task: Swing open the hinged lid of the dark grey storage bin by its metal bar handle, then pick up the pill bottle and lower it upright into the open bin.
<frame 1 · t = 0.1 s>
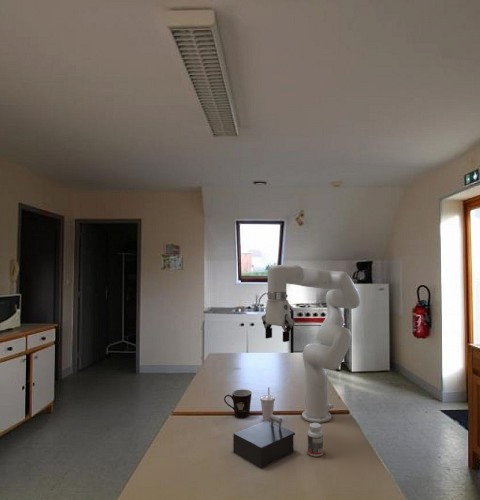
hand: (277, 339, 151), 37 cm above the table, tool pointing down, fingers open, 9 cm apart
smoothie: (267, 421, 162), on the table
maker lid: (264, 428, 135), point 8 cm above the table, hinge at 0.0°
pill bottle: (315, 453, 134), on the table
dark grey storage bin: (263, 452, 135), on the table
coffee mug: (239, 415, 168), on the table
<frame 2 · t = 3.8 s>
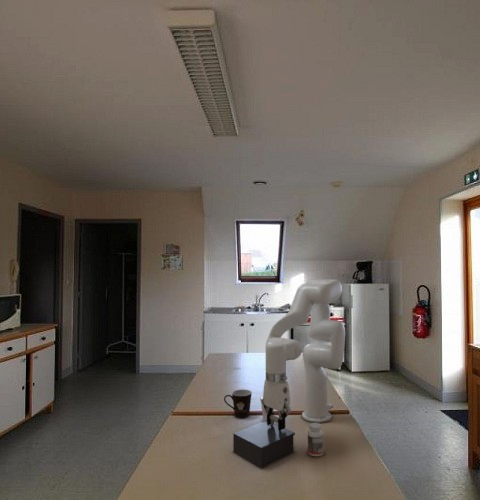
hand: (276, 426, 139), 7 cm above the table, tool pointing down, fingers closed on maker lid, 5 cm apart
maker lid: (264, 428, 135), point 8 cm above the table, hinge at 0.0°, touching gripper
everything else where it was.
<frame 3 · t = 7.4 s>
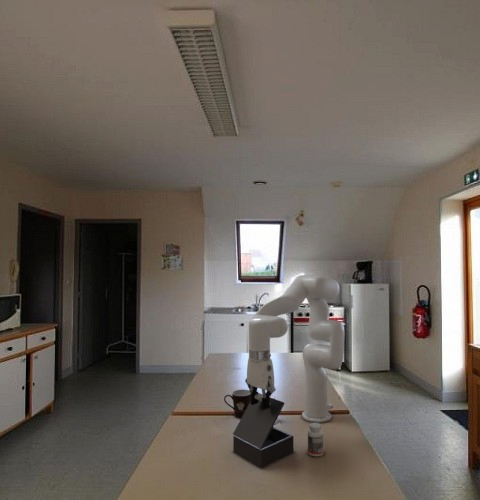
hand: (260, 405, 134), 17 cm above the table, tool pointing down, fingers closed on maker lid, 5 cm apart
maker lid: (255, 415, 133), point 14 cm above the table, hinge at 48.1°, touching gripper
everything else where it was.
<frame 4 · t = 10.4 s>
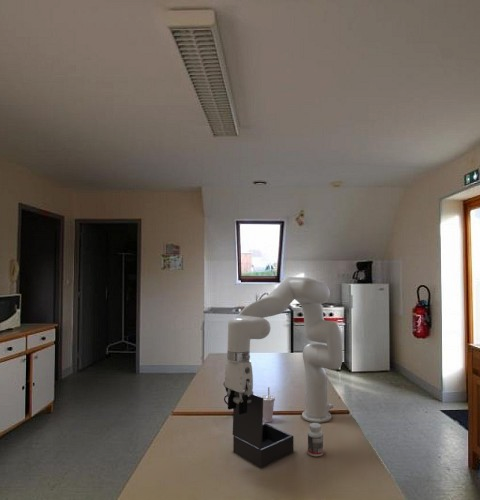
hand: (237, 410, 127), 18 cm above the table, tool pointing down, fingers closed on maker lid, 5 cm apart
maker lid: (242, 418, 129), point 15 cm above the table, hinge at 87.6°, touching gripper
everything else where it was.
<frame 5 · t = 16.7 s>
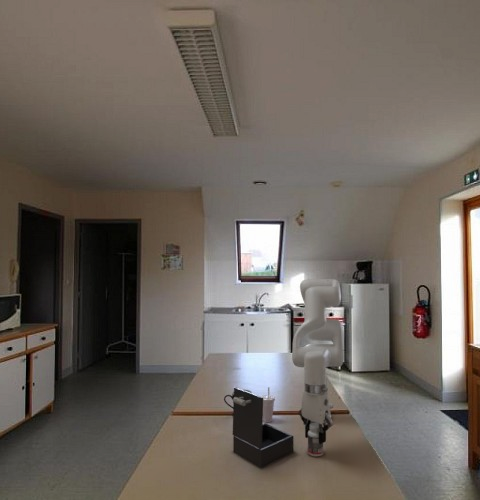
hand: (315, 439, 134), 5 cm above the table, tool pointing down, fingers closed on pill bottle, 5 cm apart
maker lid: (242, 418, 129), point 15 cm above the table, hinge at 87.7°
pill bottle: (315, 453, 134), on the table, touching gripper
everything else where it was.
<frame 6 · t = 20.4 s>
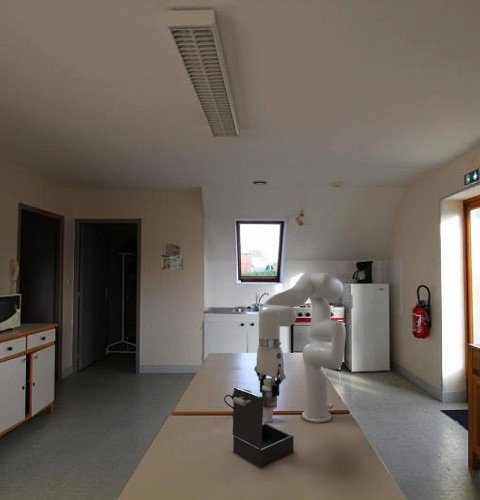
hand: (269, 393, 136), 21 cm above the table, tool pointing down, fingers closed on pill bottle, 5 cm apart
pill bottle: (269, 408, 135), point 16 cm above the table, touching gripper
everything else where it was.
when the fingers open (6 cm above the table, at t = 24.1 s): pill bottle stays where it is, resting on dark grey storage bin.
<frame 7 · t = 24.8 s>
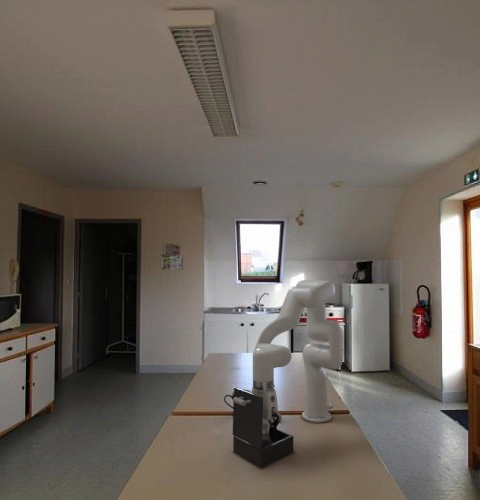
hand: (263, 433, 135), 7 cm above the table, tool pointing down, fingers open, 9 cm apart
pill bottle: (263, 450, 135), point 1 cm above the table, touching dark grey storage bin
everything else where it was.
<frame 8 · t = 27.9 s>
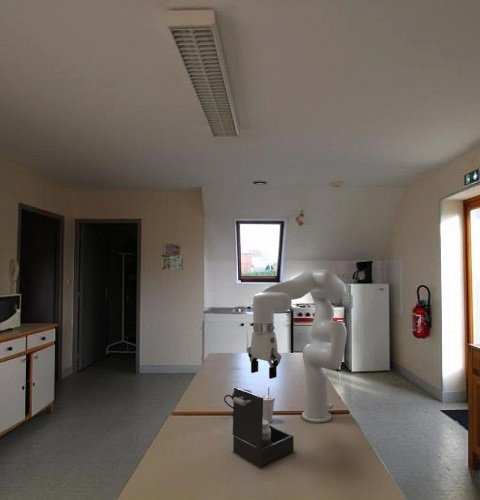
hand: (263, 375, 139), 26 cm above the table, tool pointing down, fingers open, 9 cm apart
nothing on the table moved.
at the end: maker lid at +88° (first picture: +0°); pill bottle inside the target area in the dark grey storage bin (0.0 cm from its centre), point 0.6 cm above the dark grey storage bin's base; pill bottle tilted 0° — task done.
